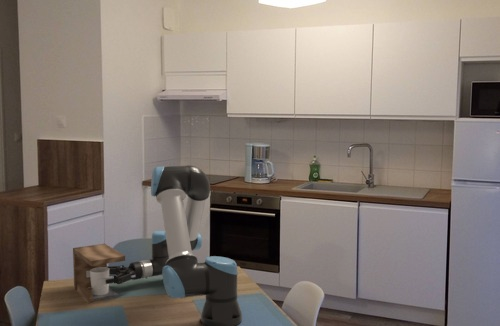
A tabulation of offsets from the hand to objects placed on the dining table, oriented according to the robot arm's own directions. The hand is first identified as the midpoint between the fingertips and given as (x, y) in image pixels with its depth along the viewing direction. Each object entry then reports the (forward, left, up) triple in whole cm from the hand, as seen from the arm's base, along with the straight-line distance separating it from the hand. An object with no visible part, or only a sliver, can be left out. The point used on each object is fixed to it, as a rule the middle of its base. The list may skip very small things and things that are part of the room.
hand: (91, 278), depth 229 cm
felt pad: (+2, -3, -7) cm, 8 cm away
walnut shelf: (+2, -2, -8) cm, 8 cm away
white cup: (+2, -3, -7) cm, 8 cm away
